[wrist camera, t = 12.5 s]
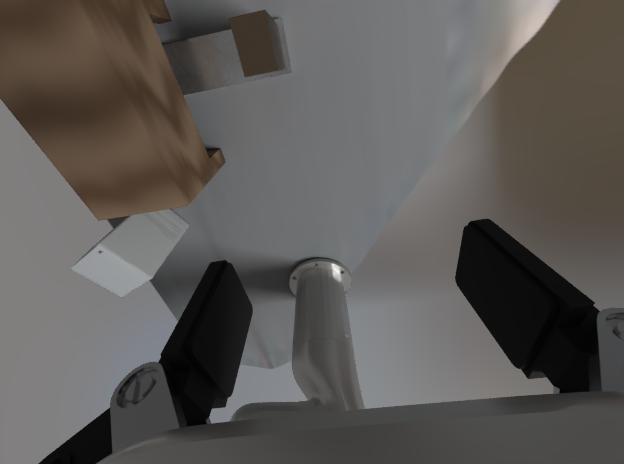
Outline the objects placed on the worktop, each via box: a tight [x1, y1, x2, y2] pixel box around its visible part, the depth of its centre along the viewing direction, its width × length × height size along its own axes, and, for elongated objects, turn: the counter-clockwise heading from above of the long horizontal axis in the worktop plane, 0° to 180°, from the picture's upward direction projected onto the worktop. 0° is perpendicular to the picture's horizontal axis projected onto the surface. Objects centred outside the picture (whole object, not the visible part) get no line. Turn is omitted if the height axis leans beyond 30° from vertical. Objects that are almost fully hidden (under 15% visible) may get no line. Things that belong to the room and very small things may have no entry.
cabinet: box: [0, 0, 225, 220], centre depth 25 cm, size 19×10×14 cm, turn 10°
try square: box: [162, 10, 292, 95], centre depth 25 cm, size 5×24×10 cm, turn 100°
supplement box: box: [71, 209, 189, 298], centre depth 36 cm, size 7×7×13 cm
